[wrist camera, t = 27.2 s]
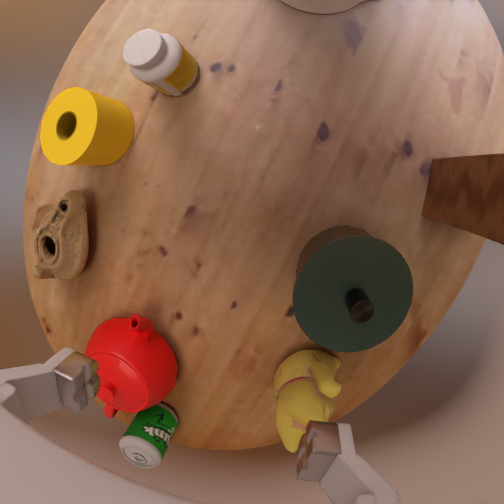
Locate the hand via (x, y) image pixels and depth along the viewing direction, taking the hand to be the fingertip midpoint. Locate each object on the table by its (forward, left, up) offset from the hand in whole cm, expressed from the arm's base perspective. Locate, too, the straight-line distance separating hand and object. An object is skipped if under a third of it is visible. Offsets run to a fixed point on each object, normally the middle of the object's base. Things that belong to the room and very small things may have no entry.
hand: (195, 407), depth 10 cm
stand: (-12, +24, -31) cm, 41 cm away
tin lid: (+2, +11, -23) cm, 25 cm away
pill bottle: (-20, -16, -31) cm, 40 cm away
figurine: (+17, +10, -31) cm, 37 cm away
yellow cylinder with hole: (-11, -26, -31) cm, 42 cm away
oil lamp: (+5, -30, -31) cm, 44 cm away
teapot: (+22, -16, -31) cm, 41 cm away
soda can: (+36, -12, -31) cm, 49 cm away
